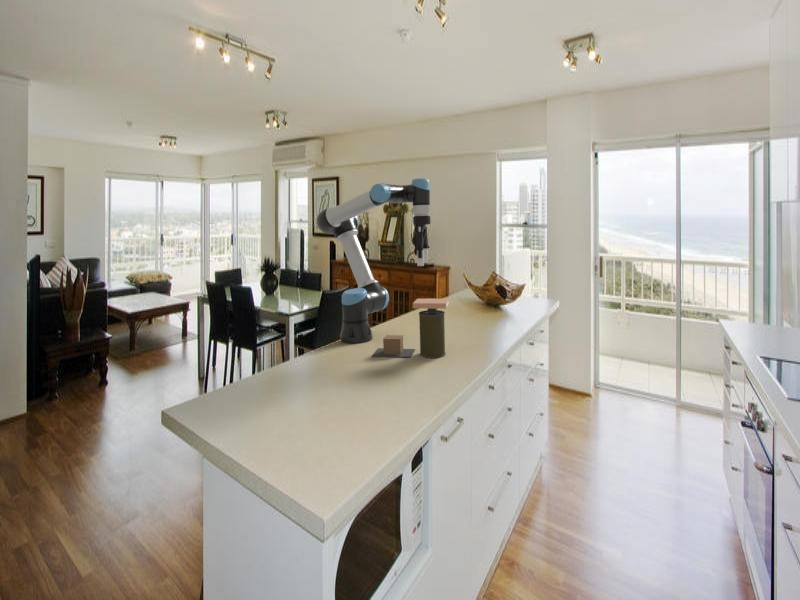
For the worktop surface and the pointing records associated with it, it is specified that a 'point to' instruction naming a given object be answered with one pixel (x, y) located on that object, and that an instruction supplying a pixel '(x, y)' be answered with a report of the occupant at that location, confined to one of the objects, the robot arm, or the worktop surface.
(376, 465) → the worktop surface
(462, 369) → the worktop surface
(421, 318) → the canister
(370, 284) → the robot arm
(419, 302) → the lid
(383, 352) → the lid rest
